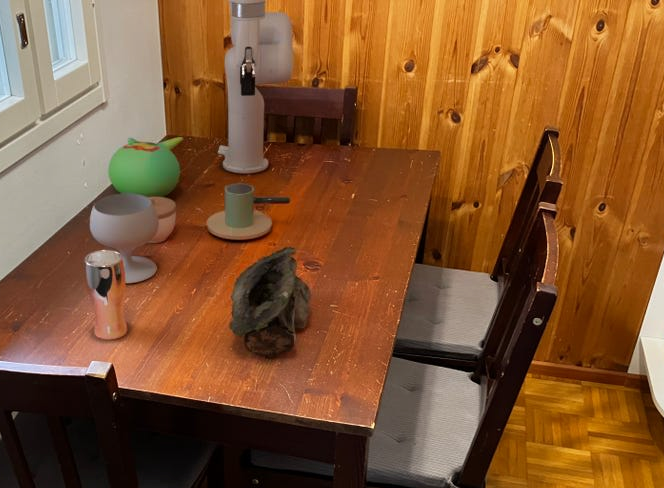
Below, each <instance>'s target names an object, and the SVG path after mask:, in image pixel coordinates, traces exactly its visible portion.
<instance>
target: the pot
mask: <svg viewBox="0 0 664 488" xmlns="http://www.w3.org/2000/svg"><path fill="white" fill-rule="evenodd" d="M290 203H291V197H289V196H255V187H254V186H253V185H250V184H247V183H232V184H228V185H226V186H225V187H224V210H221V211H219V212H216V213H214V214H212V215H210V216H209V217H208V218H207V220H206V229H207V231H208V232H209V233H210V234H212V235H213V236H215V237H218V238H220V237H222V238H226V239H235V240H242V239H252V238H256V237H258V238H261V237H262V236H264V235H266V234H268V233H269V232H270V231H271V229H272V227H273V220H272V218H271V217H270V216H269V215H267V214H265V213H263V212H261V211H258V210H255V205H287V204H290ZM222 238H221V239H222ZM256 239H257V238H256Z"/></svg>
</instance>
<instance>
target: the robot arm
mask: <svg viewBox="0 0 664 488" xmlns="http://www.w3.org/2000/svg"><path fill="white" fill-rule="evenodd" d="M227 1H228V4H229V7H230V40H231V44H232V45H233V46H232V47H231V48H229V49H228V50H227V52H226V54H225V57H224V69H225V76H226V84H227V107H228V108H227V109H228V110H227V115H228V118H227V119H228V120H227V125H228V127H227V130H228V131H227V132H228V133H227V137H228V138H227V139H228V140H227V142H228V143H227V145H228V146H227V145H222V144H221V145H219V147H218V150H217V155H219V156H224V159H223V161H222V168H223V169H224V170H225V171H227V172H231V173H234V174H245V175H246V174H256V173H260V172H263V171H265V170H267V169H268V167H269V160H268V159H267V158H265V157H264V131H265V129H264V128H265V101H264V96H263V95H262V93H261V92H260V91H259V89H258V88H257V87H256V85H280V84H282V85H283V84H286V83H288V82H289V81H290V80H291V78H292V76H293V73H294V43H293V42H294V41H293V26H292V25H293V24H292V21H291V18H290V17H289V15H288V14H287V13H284V12H281V11H266V0H227Z"/></svg>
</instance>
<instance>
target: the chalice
mask: <svg viewBox="0 0 664 488" xmlns="http://www.w3.org/2000/svg"><path fill="white" fill-rule="evenodd" d="M158 227H159V221H158V216H157V212H156V209H155V207H154V205H153V203H152V202H151V200H150V199H149V198H147V197H145V196H142V195H138V194H131V193H123V194H121V193H114V194H110V195H106V196H103V197H101V198H99V199H97V200H96V201H95V203H93V206H92V209H91V212H90V216H89V229H90V233H91V235H92V237H93V238H94V239H95V240H96V242H98V243H99V244H102V245H103V246H105V247H108V248H112V249H115V250H117V251H118V252H119V253H120V254H121V255H122V260H123V265H124V271H125V282H126V284H133V283H139V282H142V281H145V280H148V279H149V278H151V277H153V276H154V275H155V274H156V273H157V271H158V265H157V264H156V263H155V262H154V261H152V260H151V259H149V258H147V257H144V256H137V255H132V253H133V252H134V250H135V249H137V248H139V247H141V246H143V245H145V244H147V242H149V241H150V240H151V239H152V238H153V237H154V236H155V235H156V233H157V231H158Z"/></svg>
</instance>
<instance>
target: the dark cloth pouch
mask: <svg viewBox="0 0 664 488" xmlns="http://www.w3.org/2000/svg"><path fill="white" fill-rule="evenodd" d="M295 254H296V248H295V247H292V246H286V247H283V248H282V249H280V250H276V251H275V252H272V253H271V254H268V255H266V256H263V257H261V258H258V260H257V261H256V262H253V263H252V264H251V265H249V266H247V267H246V268H245V270H243V271H242V272H241V273H240V274H239V276H237V278H236V281H235V282H234V284H233V289H232V293H231V295H230V299H231V302H232V306H231V316H232V320H231V321H230V322H229V324H228V328H229V329H230V331H232V333H233V334H234V335H237V336H239V337H240V338H242V337H243V336H244V337H243V341H244V347H245V348H246V350H247V351H248V352H249V353H252V354H254V355H257V356H260V357H264V358H265V359H268V360H269V359H274V358H277V357H278V356H280V355H283V354H285V353H287V352H291V351H292V350H293V348H294V347H295V344H296V341H297V334H296V330H295V329H303V328H305V327H306V325H307V321H308V317H309V316H310V315H311V310H310V303H311V302H310V301H311V299H312V294H311V288H310V287H309V285H308V283H306V282H304V281H303V279H302V278H301V277H300V276H298V275H297V269H298V262H297V260H296V258H294V257H292V256H291V255H295Z"/></svg>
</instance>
